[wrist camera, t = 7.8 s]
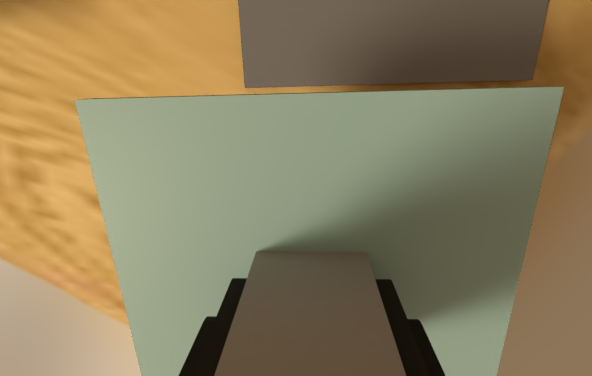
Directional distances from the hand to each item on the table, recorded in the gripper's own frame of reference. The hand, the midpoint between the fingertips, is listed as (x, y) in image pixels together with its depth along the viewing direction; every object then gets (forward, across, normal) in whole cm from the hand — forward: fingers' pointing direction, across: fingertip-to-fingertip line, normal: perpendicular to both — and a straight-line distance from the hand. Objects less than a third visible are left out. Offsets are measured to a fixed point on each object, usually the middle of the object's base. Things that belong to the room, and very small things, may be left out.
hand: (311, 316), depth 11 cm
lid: (+2, 0, 0) cm, 2 cm away
